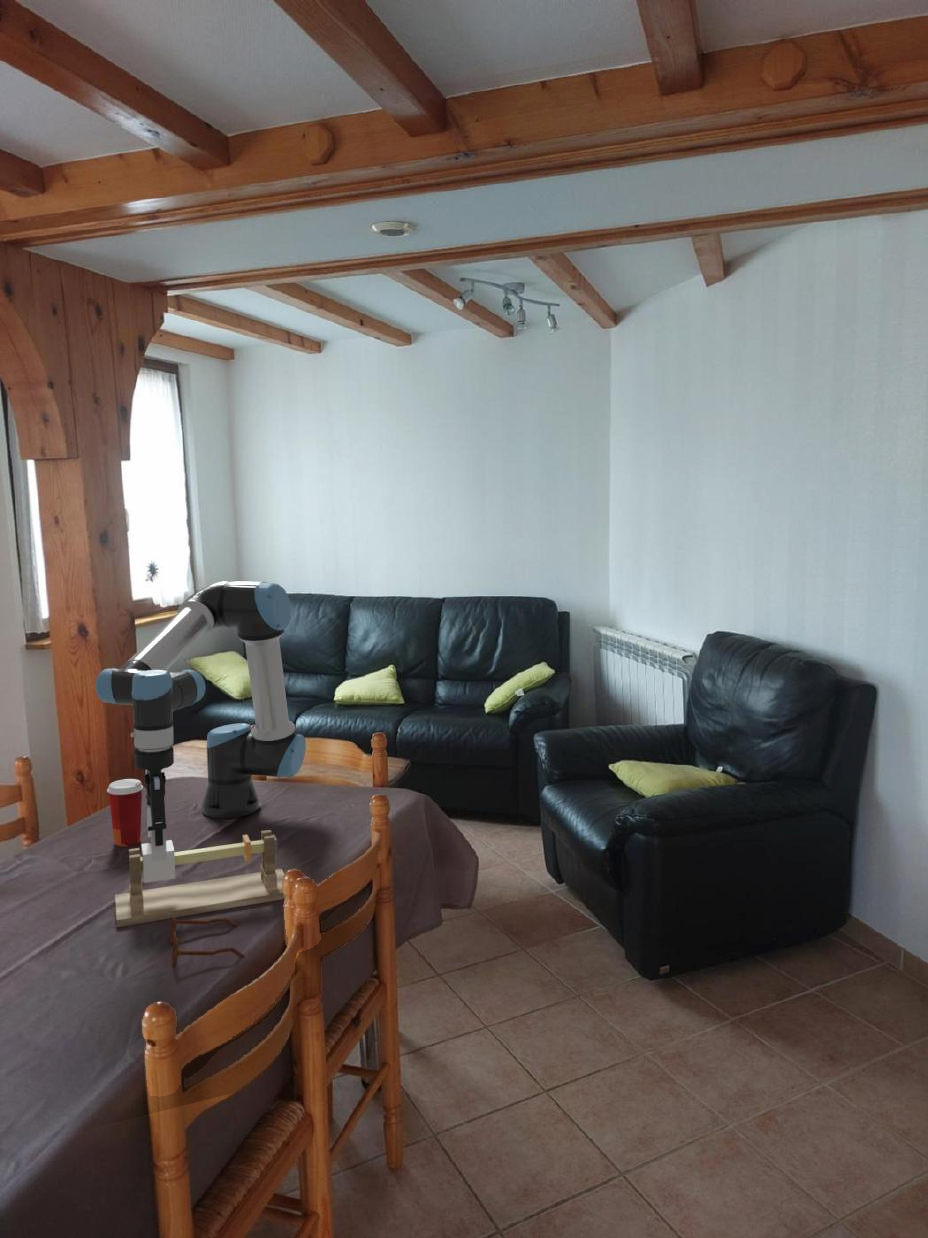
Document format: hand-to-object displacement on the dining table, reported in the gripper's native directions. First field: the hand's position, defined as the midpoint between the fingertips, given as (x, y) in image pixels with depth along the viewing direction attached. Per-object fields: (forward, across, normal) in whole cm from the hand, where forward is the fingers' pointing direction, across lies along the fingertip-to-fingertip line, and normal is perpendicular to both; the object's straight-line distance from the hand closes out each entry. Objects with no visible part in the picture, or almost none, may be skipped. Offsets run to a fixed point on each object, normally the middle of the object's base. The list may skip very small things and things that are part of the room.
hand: (156, 847), depth 177 cm
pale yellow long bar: (+5, 0, +10) cm, 11 cm away
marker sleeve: (+6, 0, 0) cm, 6 cm away
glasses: (+14, +20, +7) cm, 25 cm away
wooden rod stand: (+13, 0, +9) cm, 16 cm away
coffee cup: (+13, -39, -5) cm, 42 cm away
